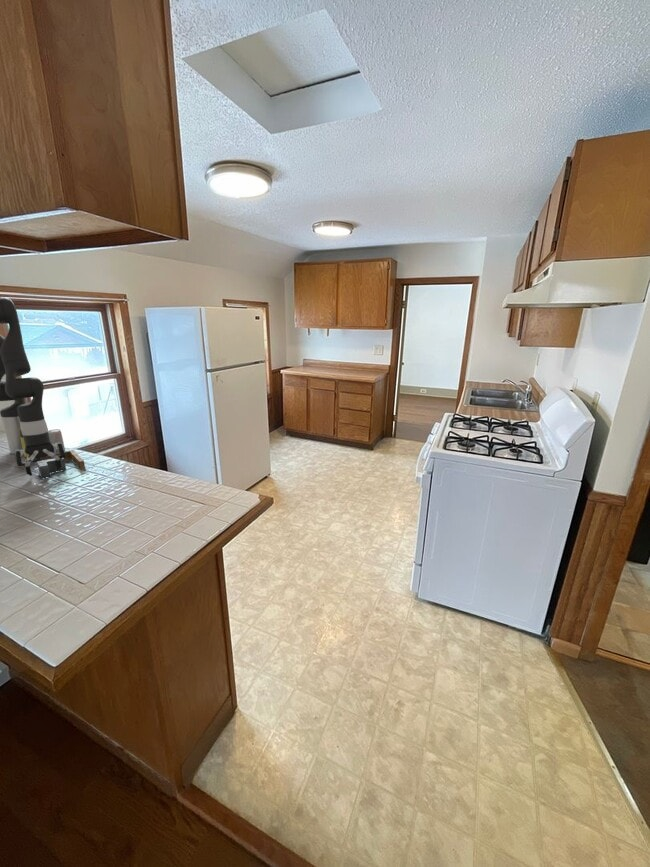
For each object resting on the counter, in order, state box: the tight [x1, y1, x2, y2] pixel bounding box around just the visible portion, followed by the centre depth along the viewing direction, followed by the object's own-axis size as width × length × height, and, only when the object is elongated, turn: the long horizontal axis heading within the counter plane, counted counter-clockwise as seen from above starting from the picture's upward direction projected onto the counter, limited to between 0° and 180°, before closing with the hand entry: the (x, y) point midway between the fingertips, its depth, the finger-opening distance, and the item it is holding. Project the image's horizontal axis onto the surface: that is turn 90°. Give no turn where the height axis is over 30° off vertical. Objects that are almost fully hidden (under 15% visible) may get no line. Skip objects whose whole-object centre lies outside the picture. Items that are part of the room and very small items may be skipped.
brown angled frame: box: [41, 449, 86, 472], centre depth 142 cm, size 18×11×4 cm, turn 46°
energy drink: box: [48, 429, 66, 453], centre depth 152 cm, size 5×5×12 cm
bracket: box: [36, 458, 67, 479], centre depth 136 cm, size 7×8×5 cm
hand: (44, 471), depth 133 cm, fingers open, 8 cm apart
